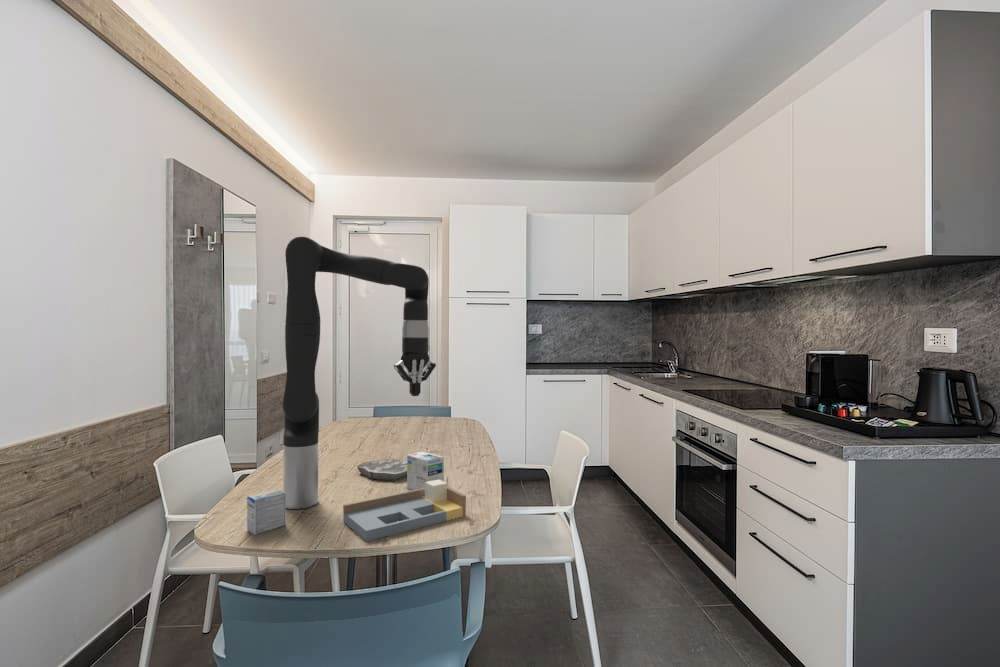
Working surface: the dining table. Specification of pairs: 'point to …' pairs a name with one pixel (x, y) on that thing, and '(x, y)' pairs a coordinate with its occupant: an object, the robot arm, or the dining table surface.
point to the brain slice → (384, 469)
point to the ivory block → (435, 490)
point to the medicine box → (266, 511)
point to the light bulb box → (423, 469)
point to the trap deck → (401, 513)
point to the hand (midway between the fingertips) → (414, 395)
